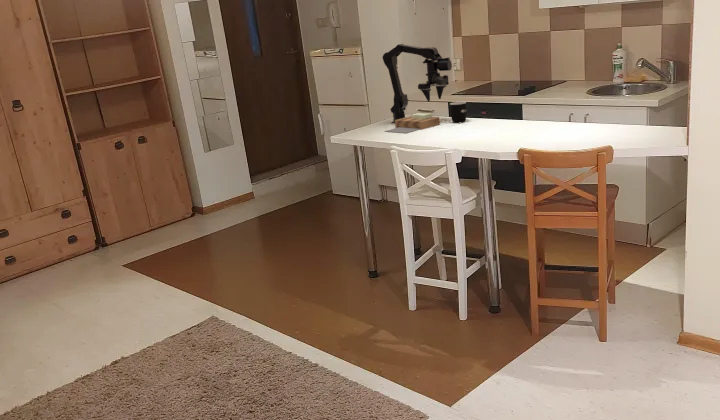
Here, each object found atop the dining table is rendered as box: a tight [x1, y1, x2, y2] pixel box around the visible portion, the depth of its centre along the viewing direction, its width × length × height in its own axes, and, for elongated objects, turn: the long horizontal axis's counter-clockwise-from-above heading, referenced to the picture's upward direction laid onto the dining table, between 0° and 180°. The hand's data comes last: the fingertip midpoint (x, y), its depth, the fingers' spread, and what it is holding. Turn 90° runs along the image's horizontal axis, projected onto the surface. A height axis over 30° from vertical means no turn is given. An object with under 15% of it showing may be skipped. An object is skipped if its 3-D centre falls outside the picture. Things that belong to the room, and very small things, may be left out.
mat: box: [384, 127, 421, 134], centre depth 349 cm, size 16×11×1 cm
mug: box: [449, 101, 467, 124], centre depth 356 cm, size 12×9×10 cm
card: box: [411, 112, 433, 119], centre depth 358 cm, size 9×6×2 cm, turn 41°
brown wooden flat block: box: [394, 115, 441, 130], centre depth 357 cm, size 20×14×4 cm
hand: (434, 100), depth 362 cm, fingers open, 8 cm apart
